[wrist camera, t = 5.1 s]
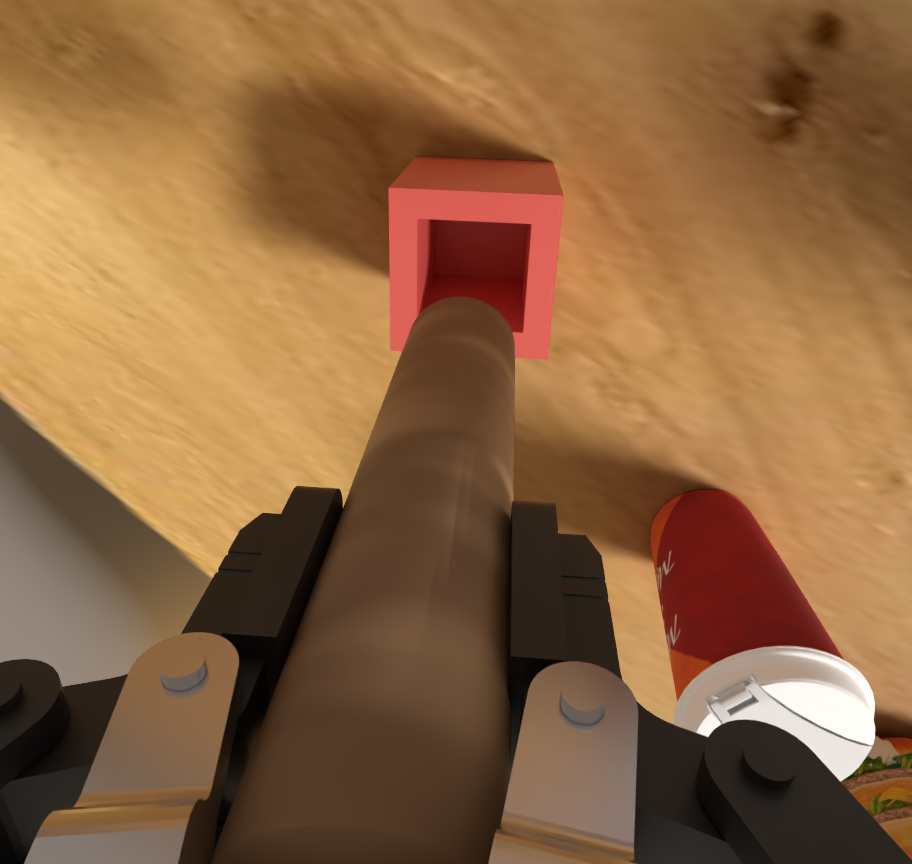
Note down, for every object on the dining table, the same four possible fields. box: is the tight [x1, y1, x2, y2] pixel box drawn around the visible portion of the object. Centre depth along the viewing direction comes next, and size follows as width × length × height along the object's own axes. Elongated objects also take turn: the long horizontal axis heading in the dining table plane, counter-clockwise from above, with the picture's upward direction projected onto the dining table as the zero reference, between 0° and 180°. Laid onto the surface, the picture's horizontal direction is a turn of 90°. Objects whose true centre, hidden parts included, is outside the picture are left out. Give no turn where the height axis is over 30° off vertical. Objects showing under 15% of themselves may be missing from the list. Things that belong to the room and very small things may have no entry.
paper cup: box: [650, 489, 875, 782], centre depth 34 cm, size 8×8×14 cm
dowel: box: [211, 297, 515, 864], centre depth 14 cm, size 3×3×15 cm
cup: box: [389, 156, 564, 359], centre depth 30 cm, size 6×6×8 cm
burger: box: [841, 735, 912, 860], centre depth 45 cm, size 13×14×10 cm
